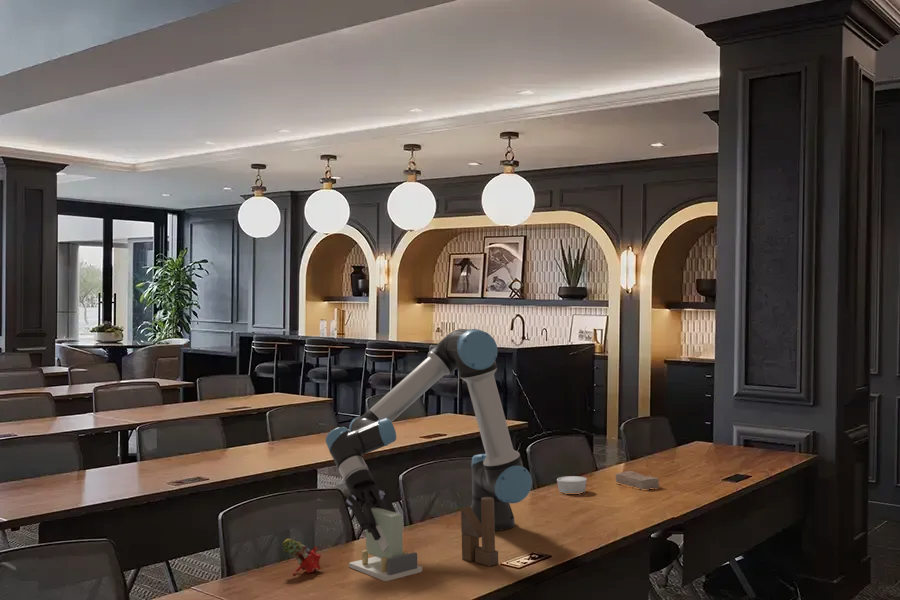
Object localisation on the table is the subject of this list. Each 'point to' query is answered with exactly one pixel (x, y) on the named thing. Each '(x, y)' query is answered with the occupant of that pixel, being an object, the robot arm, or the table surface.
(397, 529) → the sage board
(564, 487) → the ramekin
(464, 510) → the wooden block structure
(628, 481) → the brick
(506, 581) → the table surface
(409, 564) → the peg cradle
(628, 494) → the table surface
